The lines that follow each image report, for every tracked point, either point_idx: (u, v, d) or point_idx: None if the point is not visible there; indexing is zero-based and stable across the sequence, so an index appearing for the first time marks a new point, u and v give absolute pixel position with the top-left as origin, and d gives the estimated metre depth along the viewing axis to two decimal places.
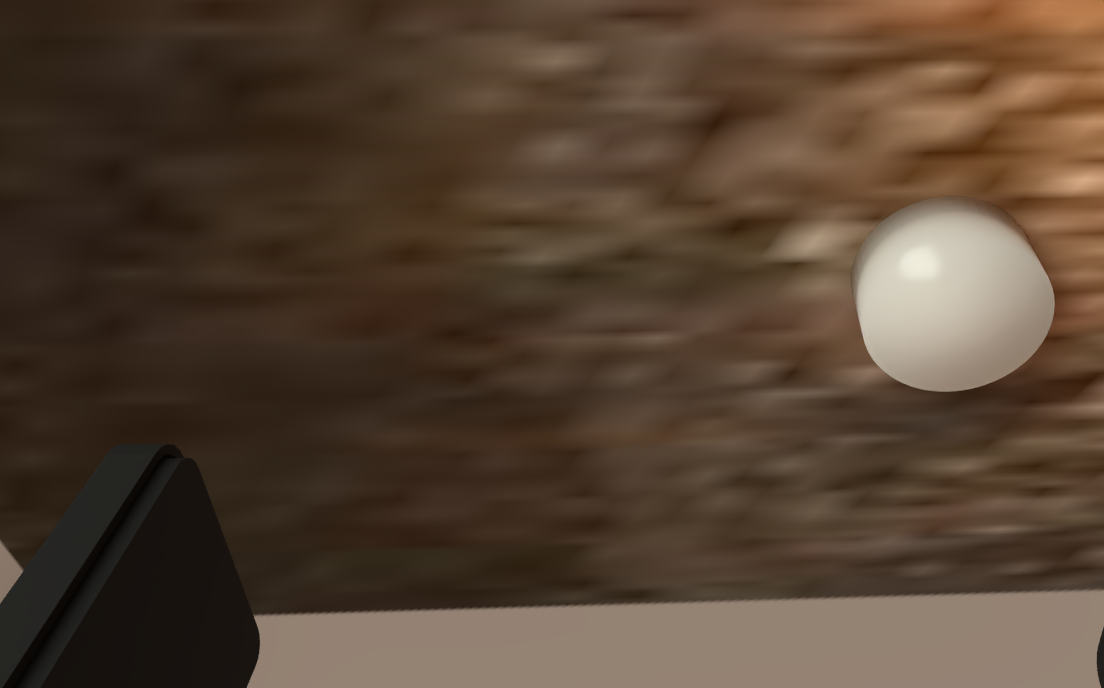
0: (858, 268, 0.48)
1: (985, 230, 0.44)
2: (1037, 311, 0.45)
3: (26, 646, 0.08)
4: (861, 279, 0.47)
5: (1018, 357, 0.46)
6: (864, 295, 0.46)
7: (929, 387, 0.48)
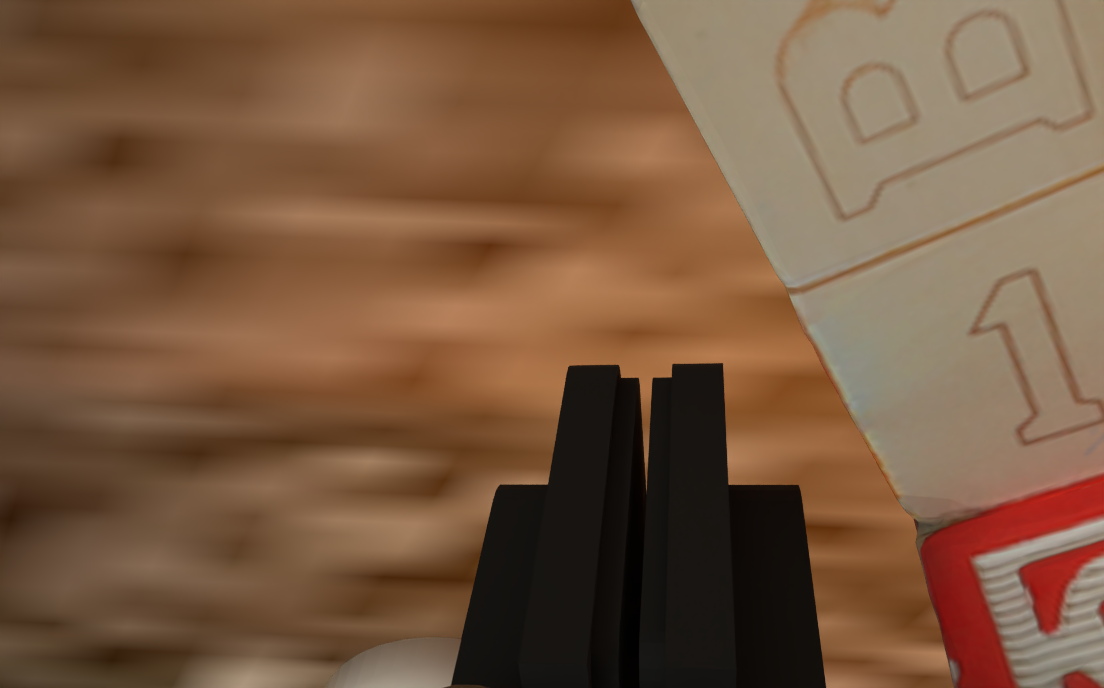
0: None
1: None
2: None
3: (593, 539, 0.09)
4: None
5: None
6: None
7: None
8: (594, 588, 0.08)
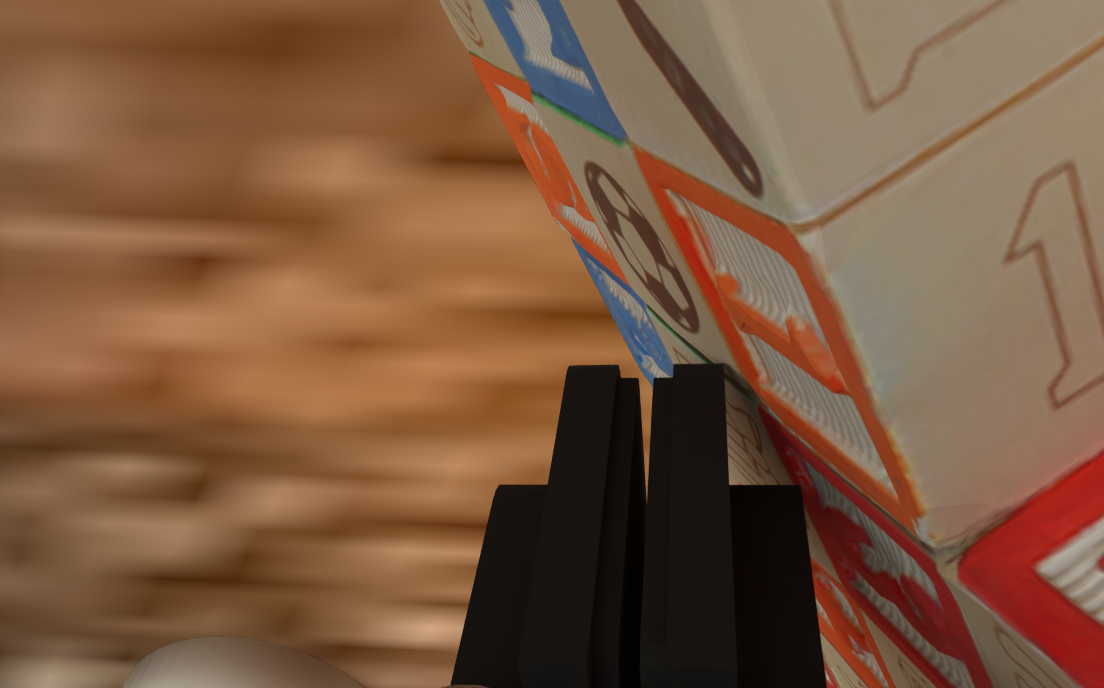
0: None
1: None
2: None
3: (593, 539, 0.09)
4: None
5: None
6: None
7: None
8: (593, 590, 0.08)
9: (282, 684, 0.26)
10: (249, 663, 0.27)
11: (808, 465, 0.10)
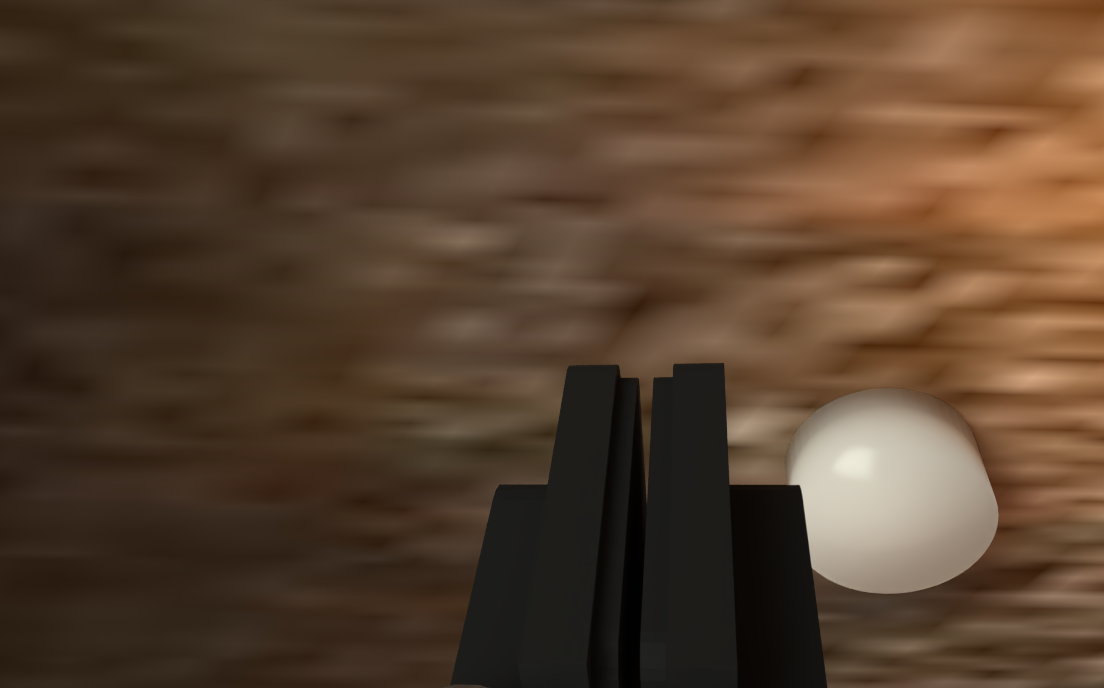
0: (791, 458, 0.45)
1: (924, 437, 0.41)
2: (980, 521, 0.42)
3: (593, 539, 0.09)
4: (793, 473, 0.44)
5: (960, 564, 0.43)
6: None
7: (865, 588, 0.44)
8: (594, 588, 0.08)
9: (938, 413, 0.42)
10: (914, 401, 0.43)
11: None
